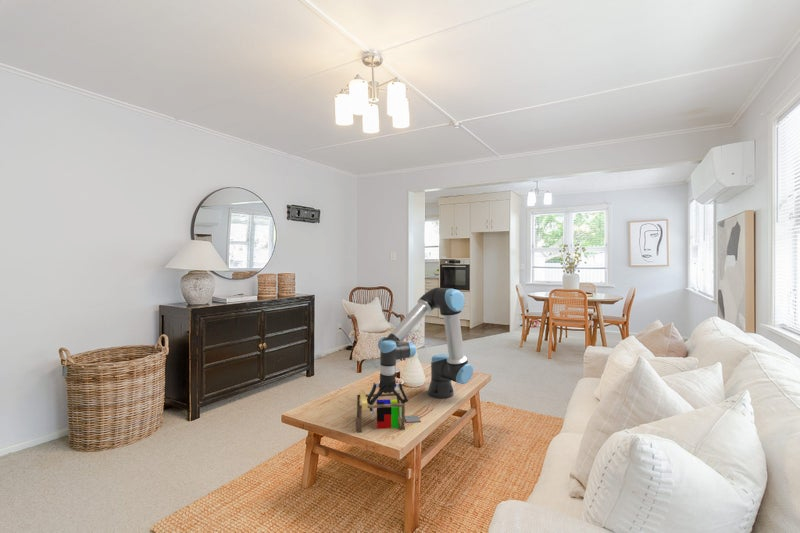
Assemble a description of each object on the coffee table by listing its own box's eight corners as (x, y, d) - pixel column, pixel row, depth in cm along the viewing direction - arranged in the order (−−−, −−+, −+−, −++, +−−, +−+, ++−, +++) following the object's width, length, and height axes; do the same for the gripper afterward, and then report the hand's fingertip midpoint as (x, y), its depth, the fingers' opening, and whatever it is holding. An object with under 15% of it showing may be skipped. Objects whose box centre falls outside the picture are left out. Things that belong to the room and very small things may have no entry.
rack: (399, 416, 194) (400, 392, 193) (405, 429, 179) (405, 404, 178) (356, 418, 190) (356, 394, 190) (357, 432, 175) (358, 406, 175)
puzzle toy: (376, 419, 190) (376, 399, 189) (396, 419, 190) (396, 399, 190) (376, 428, 180) (377, 407, 179) (398, 428, 180) (398, 407, 180)
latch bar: (364, 395, 192) (364, 390, 191) (367, 409, 174) (367, 403, 174) (359, 395, 191) (359, 390, 191) (362, 409, 174) (362, 403, 174)
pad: (417, 416, 194) (417, 415, 194) (420, 422, 187) (420, 421, 187) (403, 416, 193) (404, 415, 193) (406, 422, 186) (406, 421, 186)
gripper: (411, 370, 190) (410, 412, 191) (361, 371, 186) (360, 414, 186) (414, 374, 183) (413, 418, 183) (362, 376, 179) (361, 421, 179)
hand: (386, 417), depth 185 cm, fingers open, 13 cm apart
